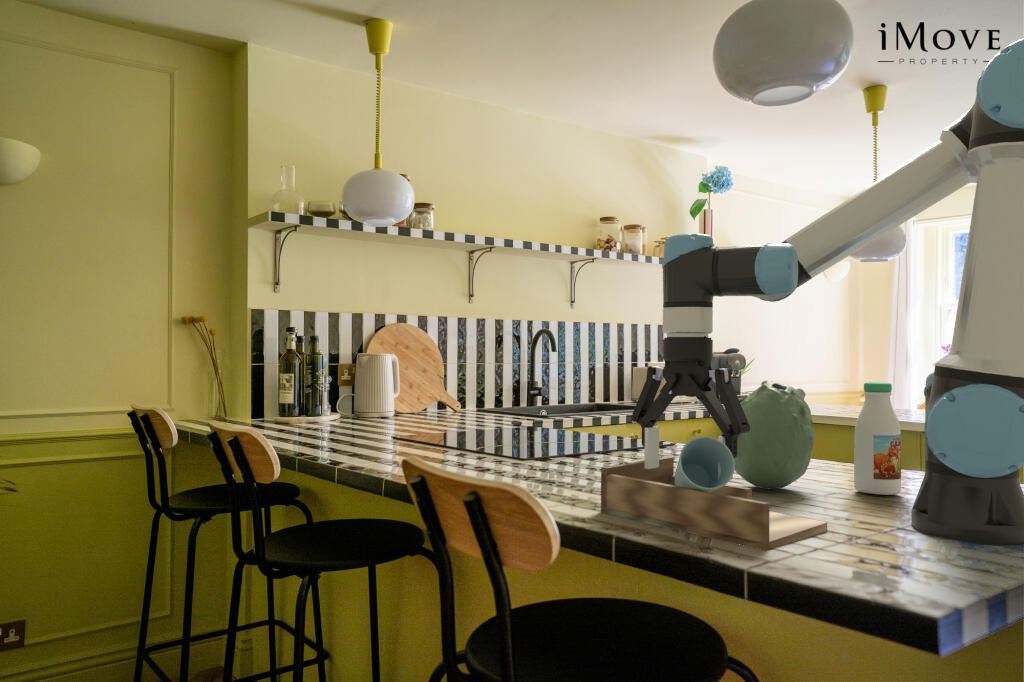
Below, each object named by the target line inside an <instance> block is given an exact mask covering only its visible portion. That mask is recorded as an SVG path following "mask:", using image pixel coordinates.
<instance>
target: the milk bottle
mask: <svg viewBox="0 0 1024 682" xmlns="http://www.w3.org/2000/svg"><path fill="white" fill-rule="evenodd" d="M892 387H893V386H892V383H891V382H880V381H879V382H877V381H876V382H875V381H872V382H871V381H869V382H867V381H866V382H864V383H863V391H864V392H863V395H864V397H865V398H864V402H863V406H862V408H861V410H860V412H859V413H858V416H857V418H856V421H855V425H854V440H853V441H854V443H853V445H854V446H853V451H854V452H853V453H854V454H853V457H854V458H853V459H854V460H853V482H854V484H853V485H854V489H855V490H856V491H857V492H861V493H865V494H872V495H881V496H882V495H883V496H884V495H887V496H889V495H892V496H893V495H898V494H900V493H901V492H902V491H901V490H902V434H901V433H902V431H901V430H902V429H901V425H900V422H899V421H900V420H899V419H898V417H897V415H896V413H895V410H894V407H893V404H892V401H891V396H892V395H893V394H892V390H893V388H892Z"/></svg>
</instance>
